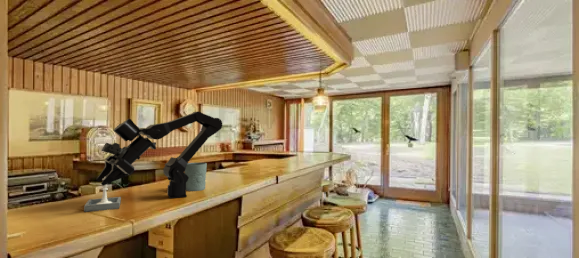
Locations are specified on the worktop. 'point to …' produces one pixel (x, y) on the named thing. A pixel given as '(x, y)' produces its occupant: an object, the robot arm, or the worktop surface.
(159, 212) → the worktop surface
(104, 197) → the chess piece
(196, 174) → the grey cylinder
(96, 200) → the tray
